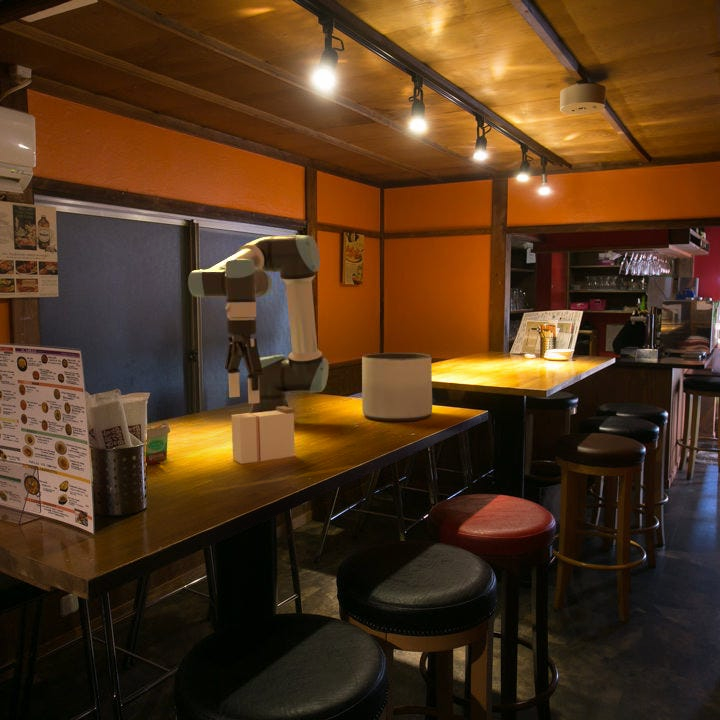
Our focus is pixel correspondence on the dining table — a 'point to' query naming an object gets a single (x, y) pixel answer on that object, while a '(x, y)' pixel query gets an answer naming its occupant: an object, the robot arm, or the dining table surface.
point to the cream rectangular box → (276, 433)
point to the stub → (245, 438)
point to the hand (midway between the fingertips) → (243, 400)
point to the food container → (157, 444)
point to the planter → (396, 386)
